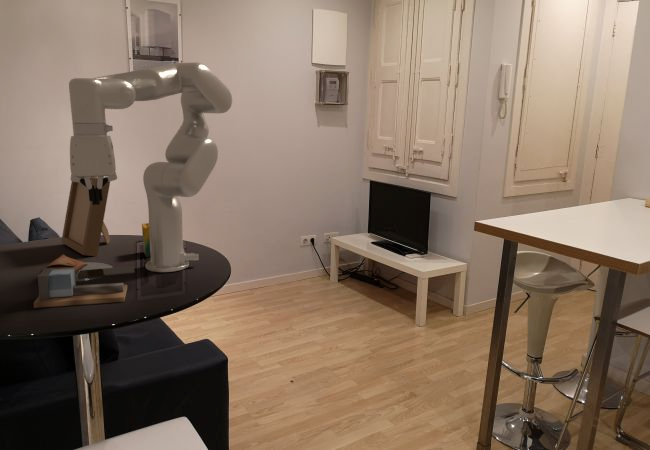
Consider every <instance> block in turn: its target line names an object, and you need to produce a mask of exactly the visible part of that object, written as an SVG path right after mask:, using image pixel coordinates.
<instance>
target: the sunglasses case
mask: <svg viewBox="0 0 650 450" xmlns="http://www.w3.org/2000/svg"><path fill="white" fill-rule="evenodd" d="M87 266H88V263H87V262H84V261H81V260H78V259H75V258H71V257H69V256H66V255H65V254H64V253H63V254H61V255H60V256H59V257H58V258H56V259H55V260H53V261H52V262H51V263H49V264H48V265H47V266H46V267H44V268H53V270H54V269H74V270H75V276H76V275H77V274H79V271H81V270H83V268H85V267H87ZM42 271H43V269H41V270H40V271H39V273H38V275H39V274H40V273H41V272H42Z"/></svg>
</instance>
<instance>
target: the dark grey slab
mask: <svg viewBox="0 0 650 450" xmlns="http://www.w3.org/2000/svg"><path fill="white" fill-rule="evenodd" d="M42 270H43V271H42ZM42 270H41V271H42V272H41V271H40V272H41V273H40V272H39V273H40V274H39V273H38V275H37V284H38V296H39V297H40V301H41V300H49V299H50V298H51V297H50V295H49V283H48V275H49V274H50V272H51V271H52V270H53V268H45V267H43V268H42Z"/></svg>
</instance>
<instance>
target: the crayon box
mask: <svg viewBox="0 0 650 450" xmlns="http://www.w3.org/2000/svg"><path fill="white" fill-rule="evenodd" d="M141 229H142V231H141V232H142V246H143V247H142V248H143V253H144V255H145V257H146V258H151V255H150V233H149V222H148V223H142V224H141Z"/></svg>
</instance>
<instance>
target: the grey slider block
mask: <svg viewBox="0 0 650 450" xmlns="http://www.w3.org/2000/svg"><path fill="white" fill-rule="evenodd" d="M48 283H49V295H50V297H66V296H73V286H77V285H76V275H75V270H74V269H54V270H52V271H51V272H50V274H49V275H48Z"/></svg>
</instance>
